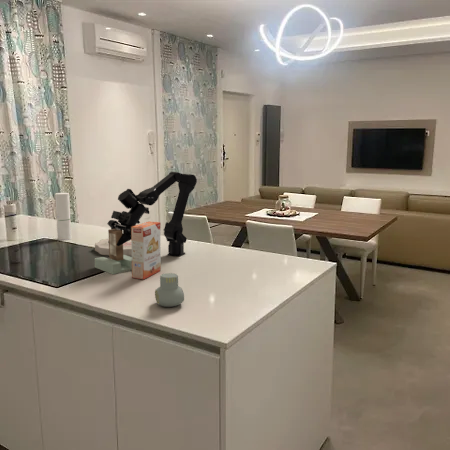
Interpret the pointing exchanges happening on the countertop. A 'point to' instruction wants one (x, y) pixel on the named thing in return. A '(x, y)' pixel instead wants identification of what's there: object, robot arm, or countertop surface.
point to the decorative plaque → (103, 247)
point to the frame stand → (114, 264)
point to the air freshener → (169, 291)
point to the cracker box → (145, 249)
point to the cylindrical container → (63, 216)
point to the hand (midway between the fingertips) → (113, 244)
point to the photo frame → (115, 244)
